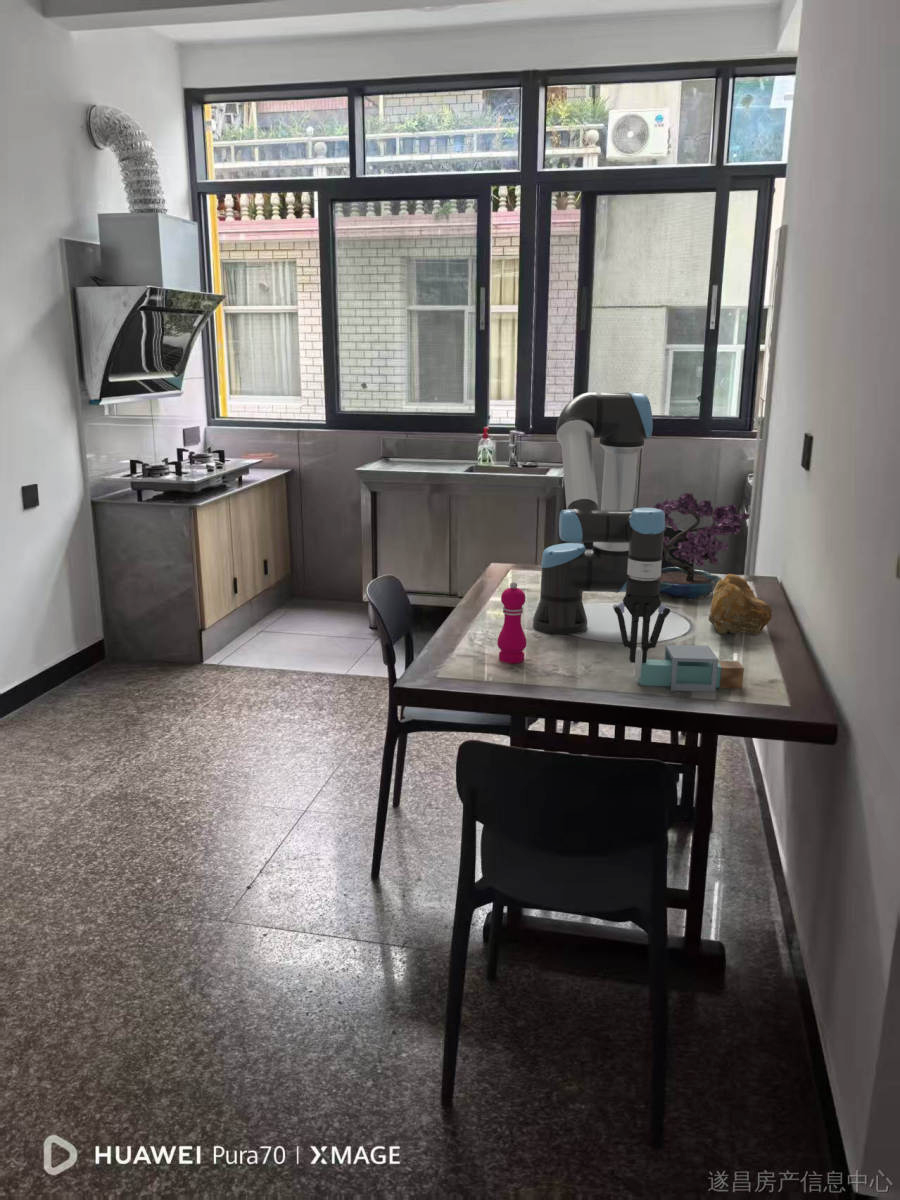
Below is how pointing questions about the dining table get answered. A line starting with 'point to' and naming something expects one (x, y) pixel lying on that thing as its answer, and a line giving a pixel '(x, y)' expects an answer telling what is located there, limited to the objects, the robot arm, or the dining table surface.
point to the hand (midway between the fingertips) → (636, 675)
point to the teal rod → (686, 673)
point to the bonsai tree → (695, 546)
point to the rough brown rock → (738, 607)
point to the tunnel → (691, 655)
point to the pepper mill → (512, 626)
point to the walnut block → (731, 674)
